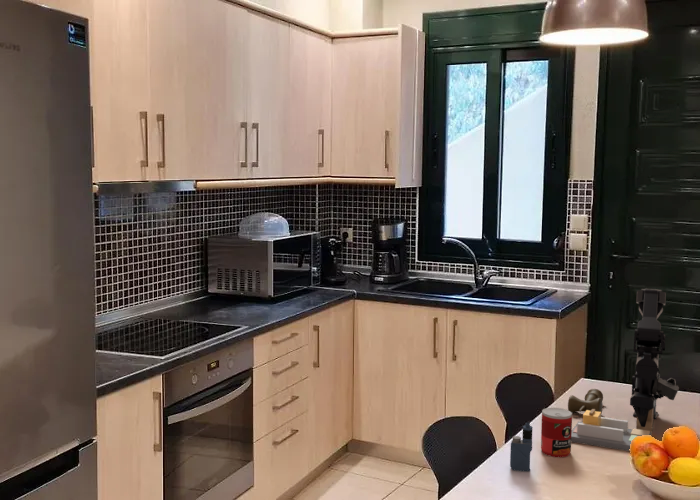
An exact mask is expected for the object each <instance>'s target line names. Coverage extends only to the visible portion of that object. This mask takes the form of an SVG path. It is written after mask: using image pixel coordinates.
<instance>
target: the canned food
mask: <svg viewBox="0 0 700 500" xmlns="http://www.w3.org/2000/svg"><path fill="white" fill-rule="evenodd" d="M572 426H573V413H571V412H570V411H568V409H566V408H561V407H546V408H543V409H542V410H541V428H540V429H541V432H540V434H541V435H540V449H541V452H542V454H544V455H546V456H547V457H548V456H549V457H552V458H567V457H569V456H570V455H571V452H572V442H571V434H572V430H573V427H572Z"/></svg>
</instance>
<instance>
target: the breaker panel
mask: <svg viewBox="0 0 700 500" xmlns="http://www.w3.org/2000/svg"><path fill="white" fill-rule="evenodd" d="M642 435H651V436H652V432H650V431H647V430H640V429H636V428H629V420H624V419H618V418H611V417H605V416H601V426H597V425H590V424H583V421H580V420H578V421H577V423H576V424H575V425H574V426H573V427H572V434H571V443H577V444H582V445H589V446H595V447H601V448H606V449H607V448H609V449H614V450H620V451H626V452H627V451H628V452H630V451H629V449H630V444H631V441H632V440H633V439H634V438H635V437H637V436H642Z"/></svg>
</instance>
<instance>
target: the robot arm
mask: <svg viewBox="0 0 700 500" xmlns="http://www.w3.org/2000/svg"><path fill="white" fill-rule="evenodd" d="M636 291H637V292H636V304H638V311H639V313H640V315H641V316H642V318H641V319H640V320H639V321H638V322H637V328H636V329H634V334H633V335H634V336H633V353H636V354H637V355H636V362H635V370H634V375H632V377H631V378H632V379H631V397H630V398H629V399H630V400H629V405H630V407H632V408H633V411H634V412H633V414H632V416H633V417H636V419H637V418H638V420H639V423H640V425H641V427H645V426H646V422H647V418H648V414H649V411H650V410H651V409H653V408H654V411H653V420H657V417H658V415H659V411H657V400H658V399H662V398H665V397H666V398H667V399H668V400H671V401H674V400H675V399H676V396H677V394H678V392H679V389H680V387H679V385H677V381H676V379H675V378H673V377H669V378H668V379H667V380H666V379H663V378H661V372H660V369H659V355H663V352H665V351H666V334H665V332H664V331H663V330H662V324H661V322H660V321H659V320H658V318H659V317H660V316H661V314H662V313H663V311H664V308H663V307H664V306H666V298H667V297H666V296H667V295H666V294H667V292H666V291H663V290H662V289H658V288H657V289H656V288H641V289H640V290H636Z"/></svg>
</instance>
